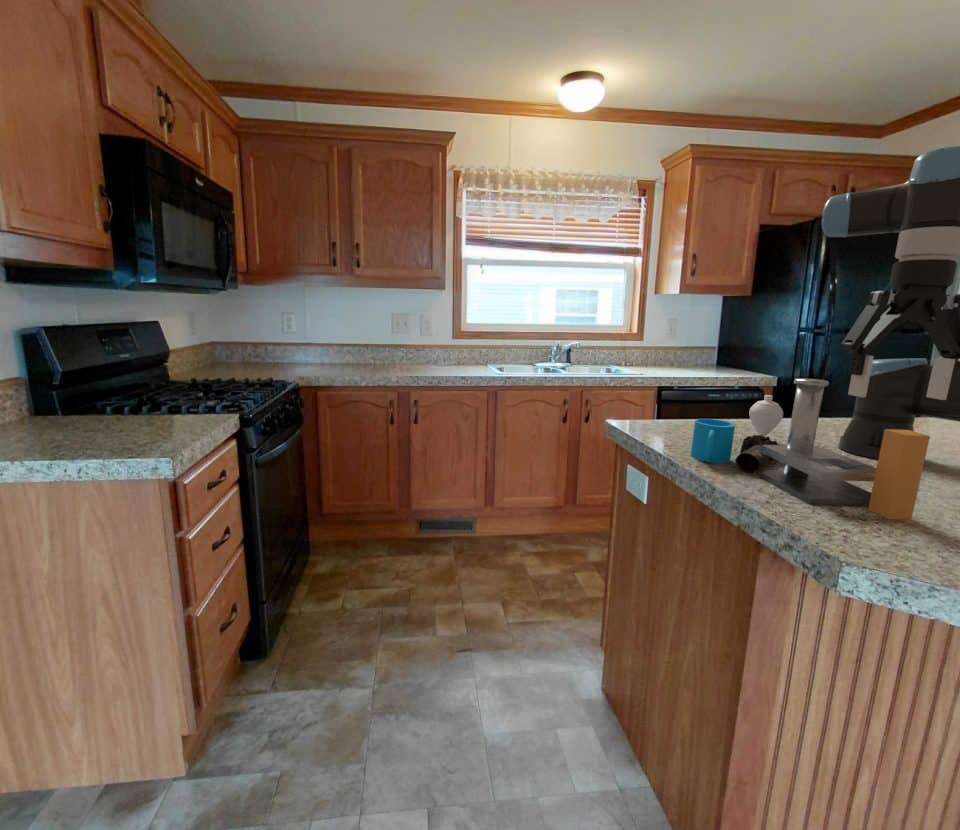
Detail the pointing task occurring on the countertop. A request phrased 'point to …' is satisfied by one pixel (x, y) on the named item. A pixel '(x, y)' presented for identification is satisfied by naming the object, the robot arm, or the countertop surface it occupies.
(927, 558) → the countertop surface
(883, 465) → the orange upright block
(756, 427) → the spinning top
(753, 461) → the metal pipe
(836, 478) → the two-tier gray stand
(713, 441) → the mug
